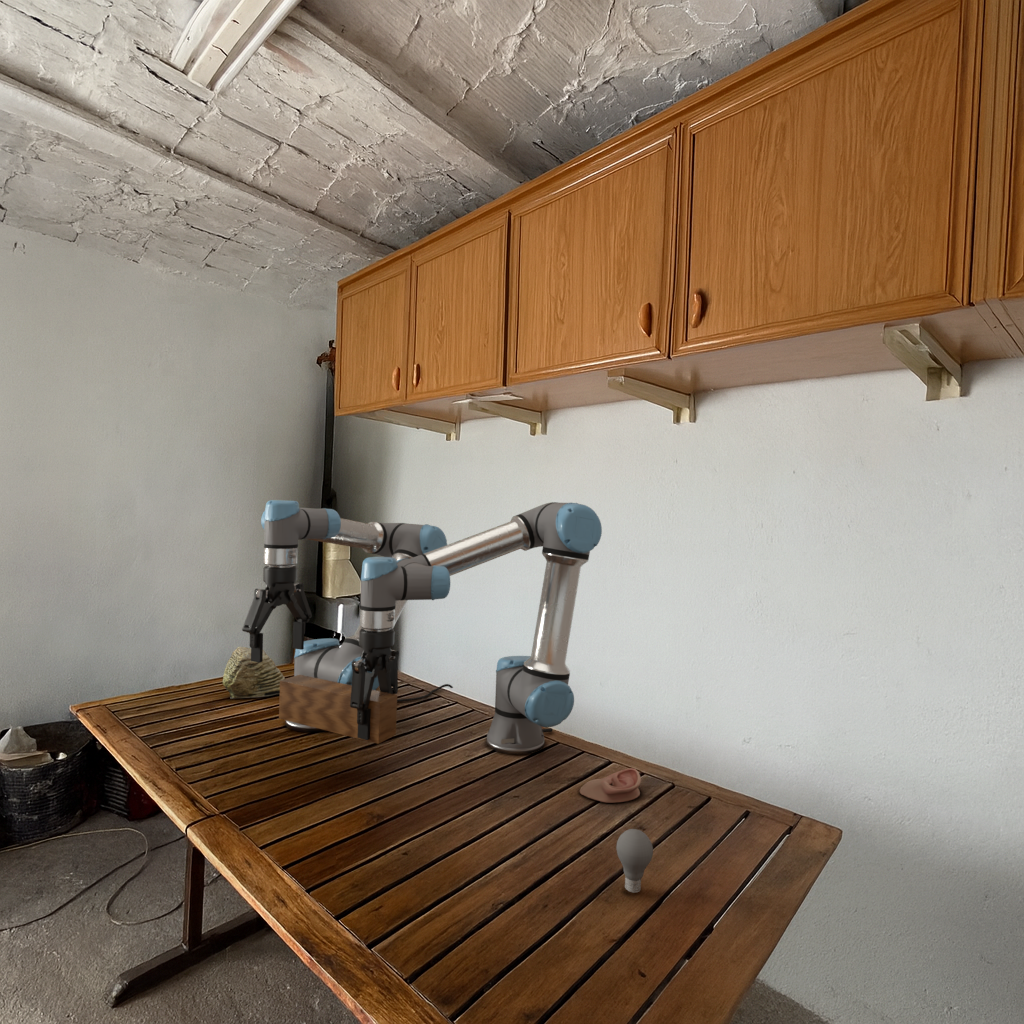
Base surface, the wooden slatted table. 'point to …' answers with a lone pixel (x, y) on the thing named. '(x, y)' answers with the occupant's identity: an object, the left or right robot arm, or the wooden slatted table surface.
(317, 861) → the wooden slatted table surface
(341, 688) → the box
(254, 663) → the fossil
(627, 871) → the light bulb
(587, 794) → the anatomical model
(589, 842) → the wooden slatted table surface
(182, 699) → the wooden slatted table surface
